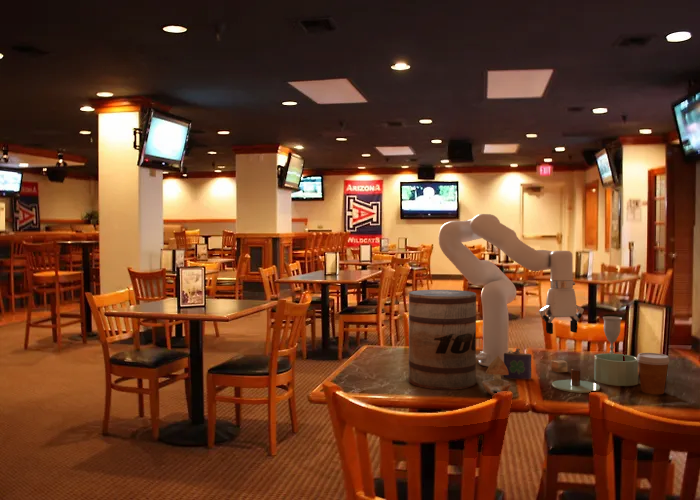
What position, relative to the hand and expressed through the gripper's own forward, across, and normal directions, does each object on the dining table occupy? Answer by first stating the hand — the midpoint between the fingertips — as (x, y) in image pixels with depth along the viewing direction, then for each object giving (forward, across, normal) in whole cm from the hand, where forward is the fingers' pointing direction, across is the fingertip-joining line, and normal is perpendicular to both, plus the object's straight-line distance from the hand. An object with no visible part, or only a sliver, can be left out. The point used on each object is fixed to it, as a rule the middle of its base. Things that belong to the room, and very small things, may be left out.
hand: (561, 332), depth 228 cm
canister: (+15, -9, +18) cm, 25 cm away
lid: (+14, +9, +22) cm, 27 cm away
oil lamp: (+14, +37, +21) cm, 45 cm away
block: (+14, +1, 0) cm, 14 cm away
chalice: (+15, -25, -6) cm, 30 cm away
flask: (+14, +21, +6) cm, 26 cm away
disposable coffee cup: (+15, -11, +33) cm, 38 cm away
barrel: (+14, +47, +1) cm, 49 cm away
